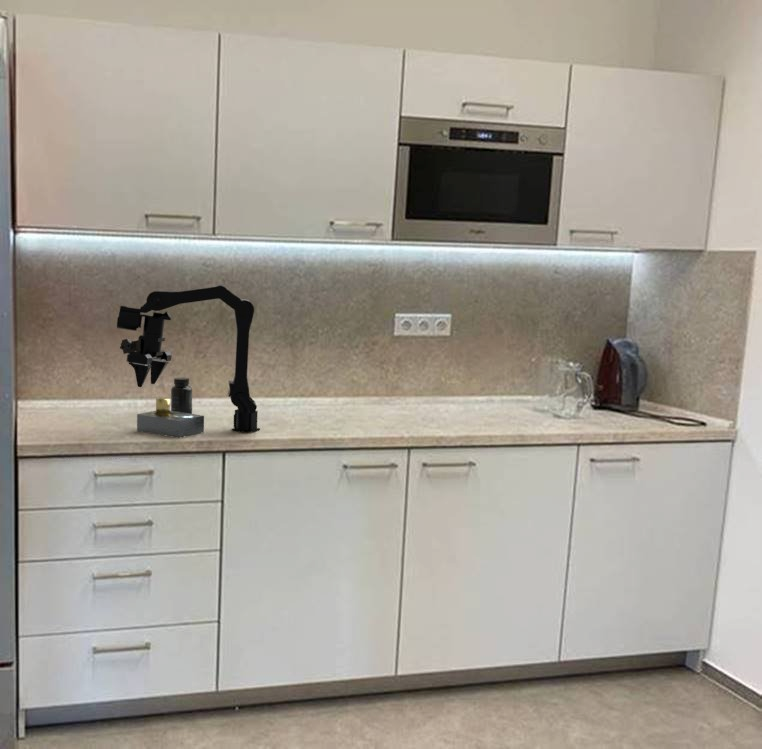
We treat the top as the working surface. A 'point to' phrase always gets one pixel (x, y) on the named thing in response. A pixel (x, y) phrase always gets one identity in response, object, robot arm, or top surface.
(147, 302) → the robot arm
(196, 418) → the housing
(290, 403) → the top surface
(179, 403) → the supplement bottle
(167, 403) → the brass cap
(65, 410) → the top surface
